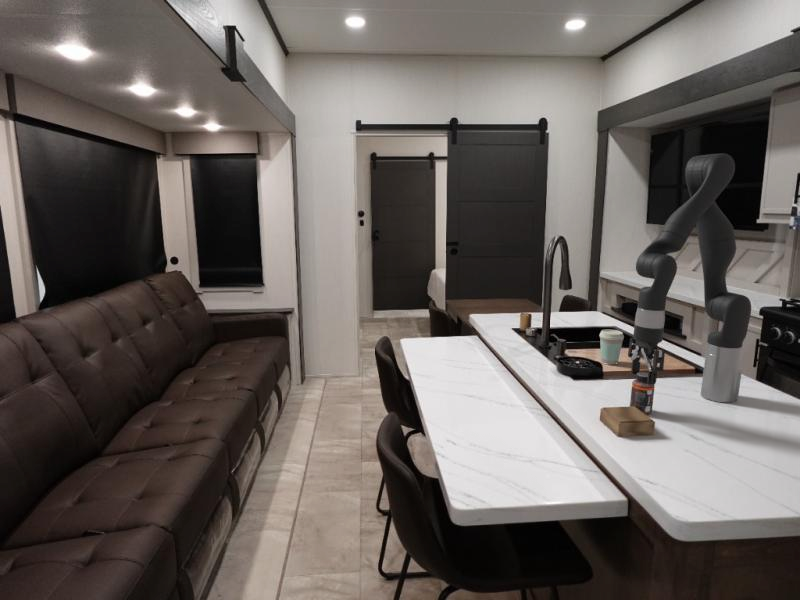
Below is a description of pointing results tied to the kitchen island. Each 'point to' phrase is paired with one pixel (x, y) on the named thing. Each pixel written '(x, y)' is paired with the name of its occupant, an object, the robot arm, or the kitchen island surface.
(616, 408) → the plinth
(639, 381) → the supplement bottle
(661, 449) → the kitchen island surface
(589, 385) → the kitchen island surface
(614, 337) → the coffee cup
